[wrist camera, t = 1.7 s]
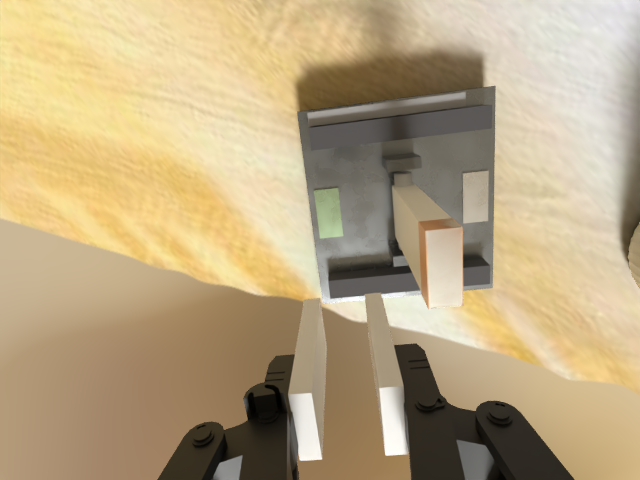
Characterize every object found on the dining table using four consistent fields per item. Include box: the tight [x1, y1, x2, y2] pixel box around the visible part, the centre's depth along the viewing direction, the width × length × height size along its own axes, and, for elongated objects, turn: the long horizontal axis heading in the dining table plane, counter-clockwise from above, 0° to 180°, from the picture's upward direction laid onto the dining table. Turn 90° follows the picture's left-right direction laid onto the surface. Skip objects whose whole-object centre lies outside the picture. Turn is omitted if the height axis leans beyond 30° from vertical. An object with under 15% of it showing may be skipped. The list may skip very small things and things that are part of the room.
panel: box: [297, 86, 495, 304], centre depth 38 cm, size 20×18×6 cm
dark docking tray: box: [307, 92, 492, 299], centre depth 37 cm, size 18×16×2 cm
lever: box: [392, 171, 463, 309], centre depth 30 cm, size 7×2×15 cm, turn 7°
